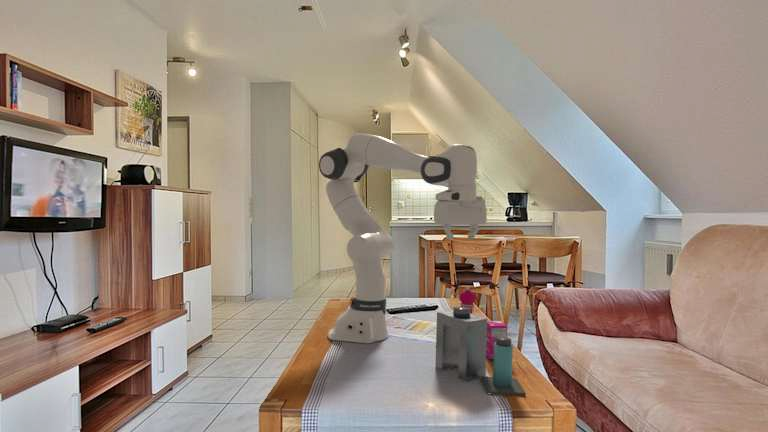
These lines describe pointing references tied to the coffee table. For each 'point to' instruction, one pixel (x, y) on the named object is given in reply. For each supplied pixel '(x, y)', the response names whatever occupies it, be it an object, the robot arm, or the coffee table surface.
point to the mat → (513, 390)
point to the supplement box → (494, 336)
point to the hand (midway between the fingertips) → (460, 238)
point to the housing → (461, 342)
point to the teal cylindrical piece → (502, 362)
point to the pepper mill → (467, 298)
